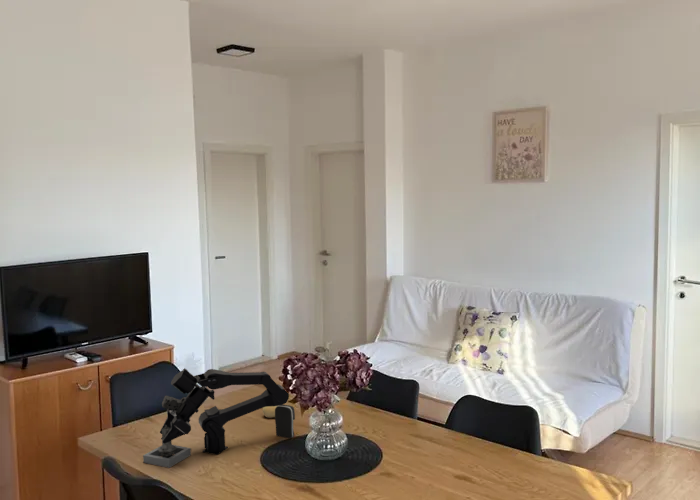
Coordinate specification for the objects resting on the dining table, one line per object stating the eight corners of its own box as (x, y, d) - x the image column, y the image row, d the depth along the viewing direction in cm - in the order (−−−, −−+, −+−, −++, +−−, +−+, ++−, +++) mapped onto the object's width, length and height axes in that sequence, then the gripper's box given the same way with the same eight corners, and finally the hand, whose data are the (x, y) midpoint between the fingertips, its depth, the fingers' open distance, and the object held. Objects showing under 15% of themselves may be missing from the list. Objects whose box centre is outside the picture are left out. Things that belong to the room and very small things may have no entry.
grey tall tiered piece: (173, 462, 218) (171, 427, 217) (156, 462, 218) (154, 427, 217) (178, 455, 224) (176, 421, 223) (161, 455, 224) (159, 421, 223)
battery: (296, 435, 239) (295, 404, 238) (292, 438, 236) (290, 408, 235) (280, 432, 242) (279, 402, 241) (275, 436, 239) (273, 406, 238)
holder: (190, 455, 224) (190, 448, 223) (169, 467, 214) (168, 460, 214) (165, 450, 228) (165, 443, 228) (143, 462, 219) (143, 455, 218)
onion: (260, 414, 263) (260, 397, 262) (280, 411, 265) (279, 394, 265) (264, 420, 255) (263, 403, 255) (284, 418, 258) (283, 400, 257)
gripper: (172, 380, 229) (141, 415, 226) (178, 395, 212) (145, 433, 209) (196, 398, 233) (166, 433, 230) (204, 415, 215) (172, 453, 212)
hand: (162, 437), depth 220 cm, fingers open, 9 cm apart
